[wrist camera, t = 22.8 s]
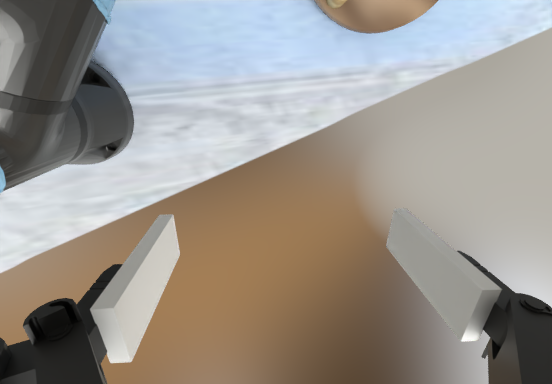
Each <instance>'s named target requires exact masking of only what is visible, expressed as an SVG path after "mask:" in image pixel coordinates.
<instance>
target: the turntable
mask: <svg viewBox="0 0 552 384" xmlns="http://www.w3.org/2000/svg"><path fill="white" fill-rule="evenodd" d="M437 1H438V0H315V2H316V4H317V5H318V6H319V7H320V8H321V10H322V11H323V12H324V13H325V14H326V15H327V16H328V17H329V18H330V19H331V20H333V21H334V22H336V23H337V24H339V25H340V26H342V27H345V28H347V29H349V30H352V31H356V32H360V33H380V32H386V31H389V30H392V29H395V28H398V27H401V26H403V25H405V24H407V23H409V22H411V21H413V20H415V19H417V18H418V17H420V16H421V15H423V14H424V13H425V12H426V11H428V10H429V9H430V8H431V7H432V6H433V5H434V4H435V3H436V2H437Z"/></svg>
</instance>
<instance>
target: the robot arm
mask: <svg viewBox="0 0 552 384" xmlns="http://www.w3.org/2000/svg"><path fill="white" fill-rule="evenodd" d="M114 3H115V0H0V193H1V192H3V191H5V190H7V189H9V188H12V187H14V186H16V185H19V184H21V183H23V182H25V181H28V180H30V179H32V178H35V177H37V176H39V175H42V174H44V173H46V172H48V171H51V170H53V169H55V168H58V167H60V166H62V165H65V164H84V165H86V164H95V163H100V162H103V161H105V160H108V159H110V158H112V157H114V156H115V155H117V154H118V153H120V152H121V151H122V150H123V149H124V148H125V147H126V146H127V144H128V143H129V141H130V139H131V136H132V133H133V127H134V118H133V111H132V108H131V104H130V102H129V99H128V97H127V95H126V93H125V92H124V90H123V89H122V87H121V86H120V84H119V83H118V82H117V81H116V80H115V79H114V78H113V77H112V76H111V75H110V74H109V73H108V72H107V71H106V70H104V69H103V68H101V67H100V66H98V65H97V64H95V63H93V62H91V58H92V56H93V54H94V51H95V49H96V47H97V45H98V42H99V40H100V38H101V35H102V33H103V31H104V29H105V26H106V24H110V22H111V16H110V14H111V11H112V8H113V6H114ZM386 247H387V248H388V249H389V251H390V252H391V253H392V254H393V256H394V257H395V258H396V260H397V261H398V262H399V264H400V265H401V266H402V267H403V269H404V270H405V271H406V272H407V274H408V275H409V276H410V277H411V279H412V280H413V281H414V282H415V284H416V285H417V287H418V288H419V289H420V290H421V291H422V293H423V294H424V295H425V297H426V298H427V299H428V300H429V302H430V303H431V304H432V306H433V307H434V308H435V309H436V311H437V312H438V313H439V315H440V316H441V317H442V318H443V320H444V321H445V322H446V323H447V325H448V326H449V327H450V329H451V330H452V331H453V332H454V334H455V335H456V336H457V337H458V339H459V340H460V341H461V342H462V341H477V340H479V338H480V336H481V334H482V331H483V330H484V331H485V332H486V333H487V334H488V335H489V336H490V337H491V338H490V340H489V342H488V344H487V346H486V348H485V350H484V352H483V355H482V358H486V356H487V355H488V370H489V371H488V374H489V384H552V308H551V307H550V306H549V305H548V304H546V303H544V302H543V301H541V300H539V299H537V298H535V297H532V296H530V295H526V294H521V293H515V292H514V291H512V290H511V289H510V288H509V287H507V286H506V285H505V284H503V283H502V282H501V281H500V280H499V279H498V278H496V277H495V276H494V275H493V274H491V273H490V272H488V271H487V269H485V268H484V267H483V266H480V264H479V263H478V262H477V261H476V260H474V259H473V258H472V257H470V256H468V255H467V254H465V253H463V252H461V251H456V250H455V249H454V248H452V247H451V246H450V245H449V244H448V243H446V242H445V241H444V240H443V239H442V238H441V237H439V236H438V235H437V234H436V233H435V232H434V231H432V230H431V229H430V228H429V227H428V226H426V225H425V224H424V223H423V222H422V221H421V220H419V219H418V218H417V217H416V216H415V215H414V214H412V213H411V212H410V211H409V210H407V209H406V208H405V209H394V212H393V217H392V222H391V226H390V231H389V236H388V240H387V246H386ZM179 255H180V251H179V246H178V240H177V234H176V228H175V222H174V216H173V215H159V217H158V218H157V219H156V220H155V222H154V223H153V225H152V226H151V227H150V228H149V230H148V231H147V233H146V234H145V235H144V237H143V238H142V239H141V241H140V242H139V243H138V245H137V246H136V248H135V249H134V250H133V252H132V253H131V254H130V256H129V257H128V258H127V260H126V261H125V262H124V264H115V265H112V266H111V267H110V268H108V269H107V270H105V271H104V272H103V273H102V274H101V275H100V277H99V278H98V279H97V280H96V283H94V284H93V285H92V286H91V288H90V290H89V291H87V293H86V294H85V295H84V296H83V298H82V299H81V300H80V301H79V302H78V304H77V305H76V303H75V302H74V301H73V299H68V298H63V299H57V300H54V301H51V302H48V303H46V304H44V305H42V306H40V307H39V308H37V309H36V310H34V311H33V312H32V313H31V314H30V315H29V316H28V317H27V318H26V319H25V321H24V324H23V328H24V329H25V331H26V333H27V335H28V337H29V339H30V340H27V341H23V342H20V343H16V344H13V345H9V346H7V344H6V343H5V341H4V340H3V339H1V338H0V384H107V381H106V378H105V375H104V372H103V369H102V367H101V362H102V360H103V359H104V357H105V355H106V353H107V355H108V358H109V360H110V363H121V362H132V360H133V357H134V355H135V353H136V351H137V348H138V346H139V344H140V342H141V339H142V337H143V335H144V333H145V331H146V328H147V326H148V324H149V322H150V320H151V317H152V315H153V313H154V311H155V308H156V306H157V304H158V302H159V299H160V297H161V295H162V293H163V290H164V288H165V286H166V284H167V282H168V279H169V277H170V275H171V273H172V271H173V268H174V266H175V264H176V262H177V260H178V257H179Z"/></svg>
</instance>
